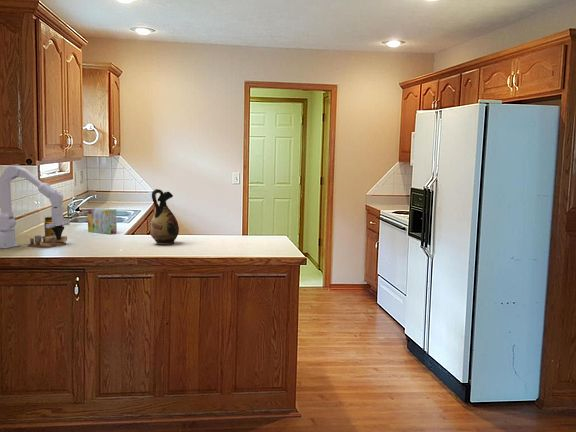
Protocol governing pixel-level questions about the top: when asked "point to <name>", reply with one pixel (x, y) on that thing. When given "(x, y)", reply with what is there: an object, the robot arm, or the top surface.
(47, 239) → the oak leg
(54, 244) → the wooden tray
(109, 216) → the snack box
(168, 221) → the ceramic jug
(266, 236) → the top surface
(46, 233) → the condiment
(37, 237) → the foot cap
